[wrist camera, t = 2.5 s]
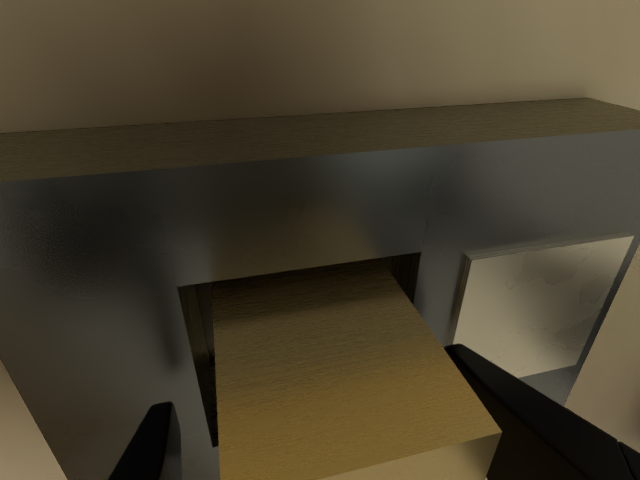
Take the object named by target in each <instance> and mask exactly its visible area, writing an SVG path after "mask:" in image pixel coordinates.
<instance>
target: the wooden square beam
mask: <svg viewBox="0 0 640 480" xmlns="http://www.w3.org/2000/svg"><path fill="white" fill-rule="evenodd" d="M212 302H213V325H214V348H215V371H216V394H217V417H218V440H219V463H220V480H485V478H486V475H487V473H488V470H489V467H490V464H491V462H492V459H493V456H494V453H495V451H496V448H497V445H498V443H499V440H500V437H501V434H502V431H501V429H500V428H499V427H498V425H497V424H496V422H495V421H494V419H493V418H492V417H491V415H490V414H489V412H488V411H487V409H486V408H485V407H484V405H483V404H482V402H481V401H480V399H479V398H478V397H477V395H476V394H475V392H474V391H473V390H472V388H471V387H470V385H469V384H468V382H467V381H466V380H465V378H464V377H463V375H462V374H461V372H460V371H459V370H458V368H457V367H456V365H455V364H454V362H453V361H452V360H451V358H450V357H449V355H448V354H447V353H446V351H445V350H444V348H443V347H442V345H441V344H440V343H439V341H438V340H437V338H436V337H435V335H434V334H433V333H432V331H431V330H430V328H429V327H428V325H427V324H426V323H425V321H424V320H423V318H422V317H421V316H420V314H419V313H418V311H417V310H416V308H415V307H414V306H413V304H412V303H411V301H410V300H409V298H408V297H407V296H406V294H405V293H404V291H403V290H402V288H401V287H400V286H399V284H398V283H397V281H396V280H395V279H394V277H393V276H392V274H391V273H390V271H389V270H388V269H387V267H386V266H385V264H384V263H383V261H382V260H381V259H380V258H374V259H367V260H360V261H353V262H346V263H339V264H332V265H325V266H318V267H311V268H304V269H297V270H290V271H283V272H276V273H269V274H262V275H255V276H248V277H241V278H234V279H227V280H220V281H213V282H212Z"/></svg>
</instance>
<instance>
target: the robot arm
mask: <svg viewBox="0 0 640 480" xmlns="http://www.w3.org/2000/svg"><path fill="white" fill-rule="evenodd" d="M444 350H445V351H446V353H447V354H448V355H449V357H450V358H451V360H452V361H453V362H454V364H455V365H456V367H457V368H458V370H459V371H460V372H461V374H462V375H463V377H464V378H465V380H466V381H467V382H468V384H469V385H470V387H471V388H472V390H473V391H474V392H475V394H476V395H477V397H478V398H479V399H480V401H481V402H482V404H483V405H484V407H485V408H486V409H487V411H488V412H489V414H490V415H491V417H492V418H493V419H494V421H495V422H496V424H497V425H498V427H499V428H500V429H501V431H502V434H501V437H500V440H499V443H498V445H497V448H496V451H495V453H494V456H493V459H492V462H491V464H490V467H489V470H488V473H487V475H486V477H487V479H488V480H640V453H638V452H637V451H635V450H634V449H632V448H630V447H629V446H627V445H626V444H624V443H622V442H618V441H617V439H616V438H614V437H612V436H611V435H609V434H607V433H606V432H604V431H603V430H601V429H599V428H598V427H596V426H594V425H593V424H591V423H590V422H588V421H586V420H585V419H583V418H582V417H580V416H578V415H577V414H575V413H573V412H572V411H570V410H569V409H567V408H565V407H564V406H562V405H560V404H559V403H557V402H556V401H554V400H552V399H551V398H549V397H547V396H546V395H544V394H543V393H541V392H539V391H538V390H536V389H535V388H533V387H531V386H530V385H528V384H526V383H525V382H523V381H522V380H520V379H518V378H517V377H515V376H513V375H512V374H510V373H509V372H507V371H505V370H504V369H502V368H500V367H499V366H497V365H496V364H494V363H492V362H491V361H489V360H487V359H486V358H484V357H483V356H481V355H479V354H478V353H476V352H475V351H473V350H471V349H470V348H468V347H466V346H465V345H463V344H453V345H448V346H445V347H444ZM108 480H182V458H181V430H180V424H179V421H178V417H177V414H176V410H175V406H174V404H173V402H171V401H167V402H162V403H157V404H154V405H152V406H151V407H150V408H149V410H148V411H147V413H146V415H145V417H144V418H143V420H142V422H141V423H140V425H139V427H138V428H137V430H136V432H135V434H134V435H133V437H132V439H131V440H130V442H129V444H128V446H127V447H126V449H125V451H124V452H123V454H122V456H121V457H120V459H119V461H118V463H117V464H116V466H115V468H114V469H113V471H112V473H111V474H110V476H109V478H108Z"/></svg>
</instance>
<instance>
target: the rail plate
mask: <svg viewBox="0 0 640 480" xmlns="http://www.w3.org/2000/svg"><path fill="white" fill-rule="evenodd" d="M639 243H640V111H639V110H635V109H631V108H627V107H623V106H619V105H615V104H611V103H607V102H603V101H599V100H595V99H591V98H579V99H563V100H546V101H530V102H513V103H497V104H480V105H464V106H447V107H431V108H414V109H398V110H381V111H365V112H348V113H332V114H315V115H299V116H282V117H266V118H249V119H233V120H216V121H200V122H183V123H167V124H150V125H134V126H117V127H101V128H84V129H68V130H51V131H35V132H19V133H2V134H0V359H1V361H2V363H3V364H4V366H5V368H6V370H7V372H8V373H9V375H10V377H11V379H12V381H13V382H14V384H15V386H16V388H17V390H18V391H19V393H20V395H21V397H22V399H23V400H24V402H25V404H26V406H27V407H28V409H29V411H30V413H31V415H32V416H33V418H34V420H35V422H36V424H37V425H38V427H39V429H40V431H41V433H42V434H43V436H44V438H45V440H46V442H47V443H48V445H49V447H50V449H51V451H52V452H53V454H54V456H55V458H56V459H57V461H58V463H59V465H60V467H61V468H62V470H63V472H64V474H65V476H66V477H67V479H68V480H108V478H109V476H110V474H111V473H112V471H113V469H114V468H115V466H116V464H117V463H118V461H119V459H120V457H121V456H122V454H123V452H124V451H125V449H126V447H127V446H128V444H129V442H130V440H131V439H132V437H133V435H134V434H135V432H136V430H137V428H138V427H139V425H140V423H141V422H142V420H143V418H144V417H145V415H146V413H147V411H148V410H149V408H150V407H151V406H152V405H154V404H157V403H162V402H167V401H171V402H173V404H174V406H175V410H176V414H177V417H178V421H179V424H180V430H181V458H182V480H220V463H219V440H218V417H217V394H216V371H215V361H212V362H210V359H209V354H208V349H207V343H206V338H205V333H204V328H203V323H202V317H201V312H200V307H199V302H198V297H197V292H196V286H195V284H199V283H206V282H213V281H220V280H227V279H234V278H241V277H248V276H255V275H262V274H269V273H276V272H283V271H290V270H297V269H304V268H311V267H318V266H325V265H332V264H339V263H346V262H353V261H360V260H367V259H374V258H380V259H381V260H382V261H383V263H384V264H385V266H386V267H387V269H388V270H389V271H390V273H391V274H392V276H393V277H394V279H395V280H396V281H397V283H398V284H399V286H400V287H401V288H402V290H403V291H404V293H405V294H406V296H407V297H408V298H409V300H410V301H411V303H412V304H413V306H414V307H415V308H416V310H417V311H418V313H419V314H420V316H421V317H422V318H423V320H424V321H425V323H426V324H427V325H428V327H429V328H430V330H431V331H432V333H433V334H434V335H435V337H436V338H437V340H438V341H439V343H440V344H441V345H442V347H443V348H444V347H445V346H448V345H453V344H463V345H465V346H466V347H468V348H470V349H471V350H473V351H475V352H476V353H478V354H479V355H481V356H483V357H484V358H486V359H487V360H489V361H491V362H492V363H494V364H496V365H497V366H499V367H500V368H502V369H504V370H505V371H507V372H509V373H510V374H512V375H513V376H515V377H517V378H518V379H520V380H522V381H523V382H525V383H526V384H528V385H530V386H531V387H533V388H535V389H536V390H538V391H539V392H541V393H543V394H544V395H546V396H547V397H549V398H551V399H552V400H554V401H556V402H557V403H559V404H560V405H562V406H564V404H565V402H566V400H567V398H568V396H569V394H570V392H571V389H572V387H573V385H574V383H575V381H576V379H577V377H578V374H579V372H580V370H581V368H582V366H583V364H584V361H585V359H586V357H587V355H588V353H589V351H590V349H591V346H592V344H593V342H594V340H595V338H596V336H597V334H598V331H599V329H600V327H601V325H602V323H603V321H604V318H605V316H606V314H607V312H608V310H609V308H610V306H611V303H612V301H613V299H614V297H615V295H616V293H617V291H618V288H619V286H620V284H621V282H622V280H623V278H624V276H625V273H626V271H627V269H628V267H629V265H630V263H631V260H632V258H633V256H634V254H635V252H636V250H637V248H638V245H639Z"/></svg>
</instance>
